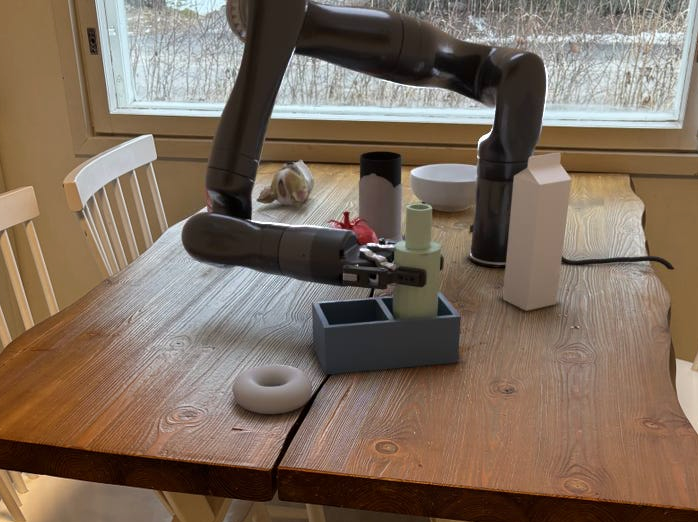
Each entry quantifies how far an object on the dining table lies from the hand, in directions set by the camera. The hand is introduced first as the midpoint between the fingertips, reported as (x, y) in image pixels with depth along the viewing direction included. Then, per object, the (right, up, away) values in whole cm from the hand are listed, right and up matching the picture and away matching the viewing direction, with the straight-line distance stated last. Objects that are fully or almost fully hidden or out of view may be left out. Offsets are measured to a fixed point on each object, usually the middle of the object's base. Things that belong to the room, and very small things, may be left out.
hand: (433, 270), depth 120 cm
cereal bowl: (+10, +32, +70) cm, 77 cm away
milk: (+17, +1, +23) cm, 29 cm away
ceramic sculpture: (-24, +34, +73) cm, 84 cm away
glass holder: (-5, +21, +53) cm, 57 cm away
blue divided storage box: (-6, -10, +7) cm, 13 cm away
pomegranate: (-11, +11, +39) cm, 42 cm away
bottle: (-2, -9, +7) cm, 11 cm away
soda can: (-34, +21, +54) cm, 67 cm away
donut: (-21, -18, -5) cm, 28 cm away
